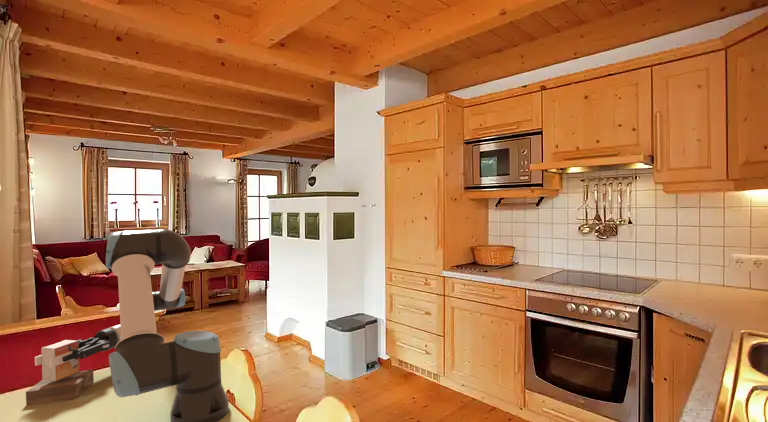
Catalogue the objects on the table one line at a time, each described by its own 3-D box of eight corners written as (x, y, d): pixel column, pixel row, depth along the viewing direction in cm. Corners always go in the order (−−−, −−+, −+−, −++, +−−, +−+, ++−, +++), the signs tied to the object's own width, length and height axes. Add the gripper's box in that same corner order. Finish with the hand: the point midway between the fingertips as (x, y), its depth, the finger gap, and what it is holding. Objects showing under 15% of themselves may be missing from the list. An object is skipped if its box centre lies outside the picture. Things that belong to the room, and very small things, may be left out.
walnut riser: (75, 398, 128) (74, 386, 128) (26, 404, 125) (25, 391, 125) (93, 381, 141) (93, 369, 141) (49, 386, 138) (49, 374, 138)
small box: (55, 381, 128) (54, 348, 128) (41, 380, 130) (40, 347, 130) (80, 371, 136) (78, 340, 136) (67, 370, 138) (65, 339, 137)
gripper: (131, 349, 148) (65, 376, 125) (91, 346, 153) (22, 371, 130) (130, 329, 147) (64, 352, 125) (91, 326, 153) (21, 348, 130)
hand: (43, 362), depth 128 cm, fingers closed on small box, 6 cm apart
